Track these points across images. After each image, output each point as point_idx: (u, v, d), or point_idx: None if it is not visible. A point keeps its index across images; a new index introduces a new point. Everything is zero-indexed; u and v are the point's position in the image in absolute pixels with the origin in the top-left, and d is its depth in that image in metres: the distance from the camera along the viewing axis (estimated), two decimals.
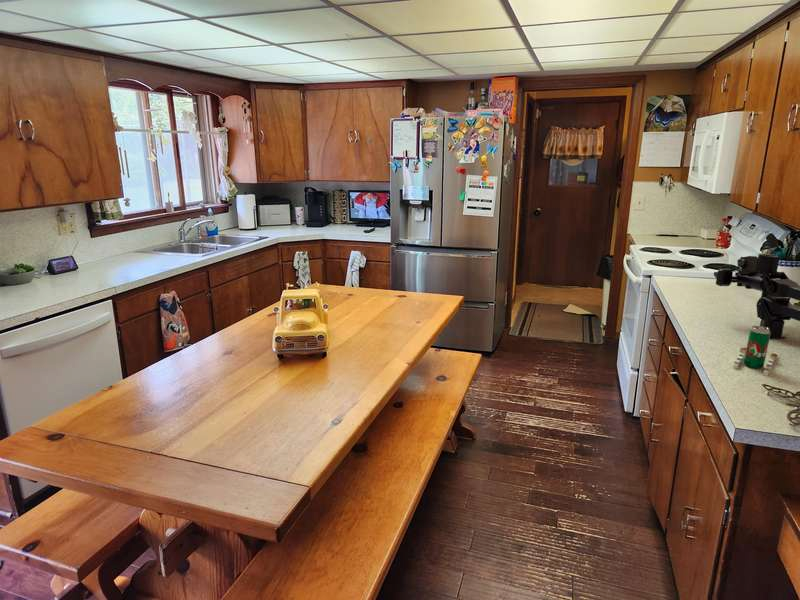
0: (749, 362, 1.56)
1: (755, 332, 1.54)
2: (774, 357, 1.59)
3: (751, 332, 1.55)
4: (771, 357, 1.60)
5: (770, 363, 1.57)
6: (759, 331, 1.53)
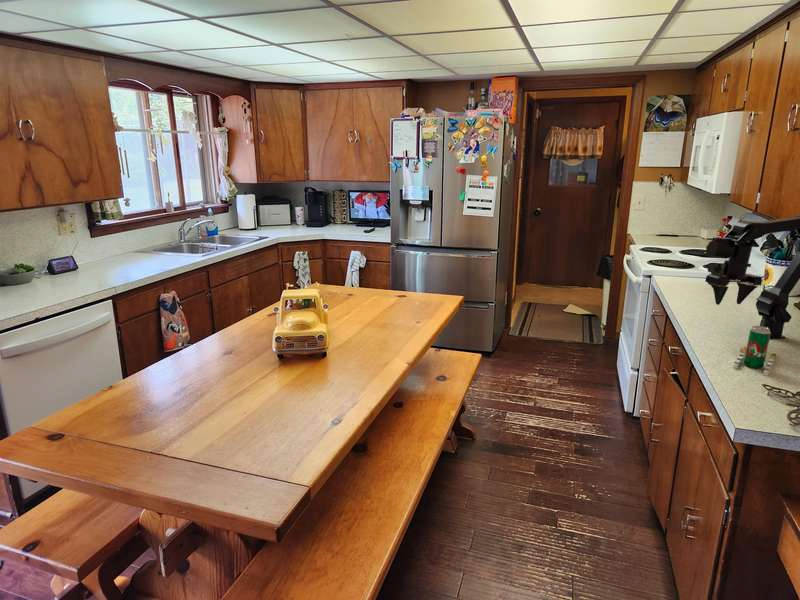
0: (749, 362, 1.56)
1: (755, 332, 1.54)
2: (774, 357, 1.59)
3: (751, 332, 1.55)
4: (771, 357, 1.60)
5: (770, 363, 1.57)
6: (759, 331, 1.53)
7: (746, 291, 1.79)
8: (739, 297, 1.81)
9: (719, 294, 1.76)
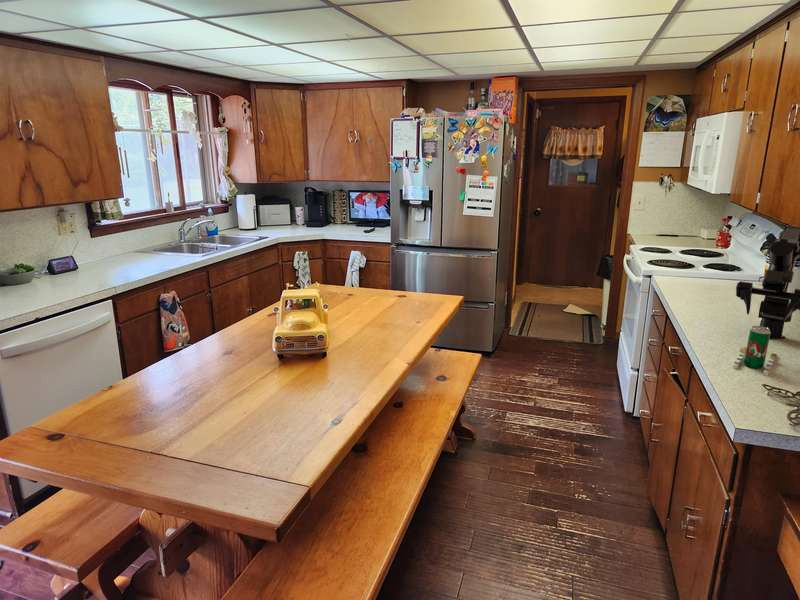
0: (749, 362, 1.56)
1: (755, 332, 1.54)
2: (774, 357, 1.59)
3: (751, 332, 1.55)
4: (771, 357, 1.60)
5: (770, 363, 1.57)
6: (759, 331, 1.53)
7: (750, 303, 1.66)
8: (749, 307, 1.63)
9: (791, 311, 1.58)
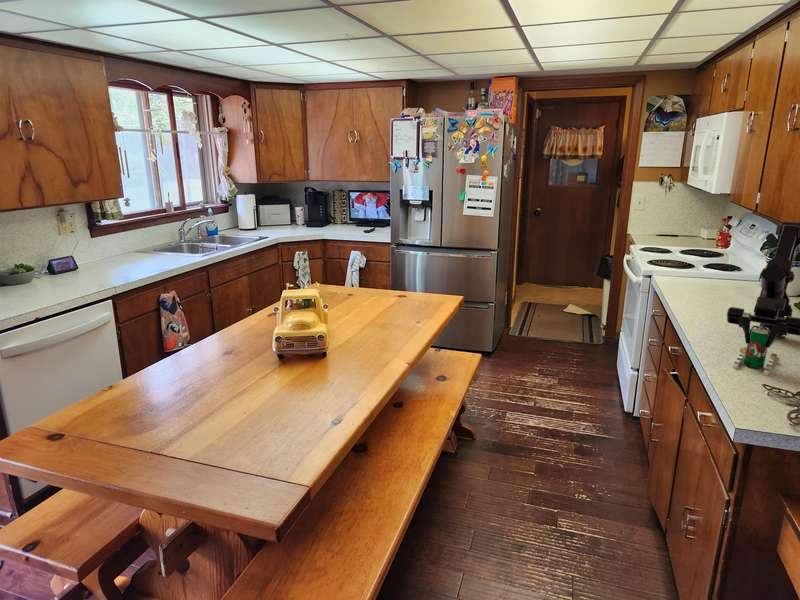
0: (749, 362, 1.56)
1: (755, 332, 1.54)
2: (774, 357, 1.59)
3: (751, 332, 1.55)
4: (771, 357, 1.60)
5: (770, 363, 1.57)
6: (759, 331, 1.53)
7: (749, 331, 1.59)
8: (748, 336, 1.57)
9: (776, 338, 1.54)
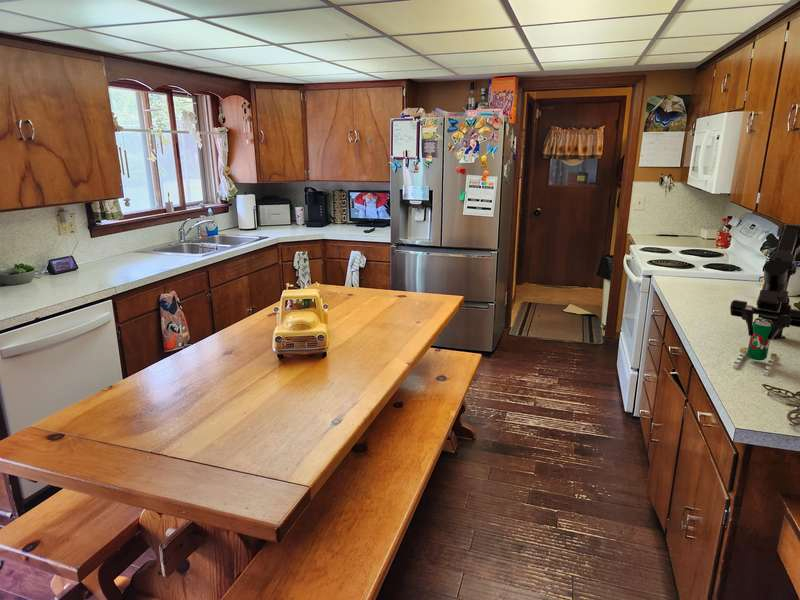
0: (752, 354, 1.59)
1: (758, 324, 1.56)
2: (774, 357, 1.59)
3: (754, 324, 1.57)
4: (771, 357, 1.60)
5: (770, 363, 1.57)
6: (762, 323, 1.55)
7: (752, 323, 1.62)
8: (751, 328, 1.60)
9: (778, 330, 1.57)
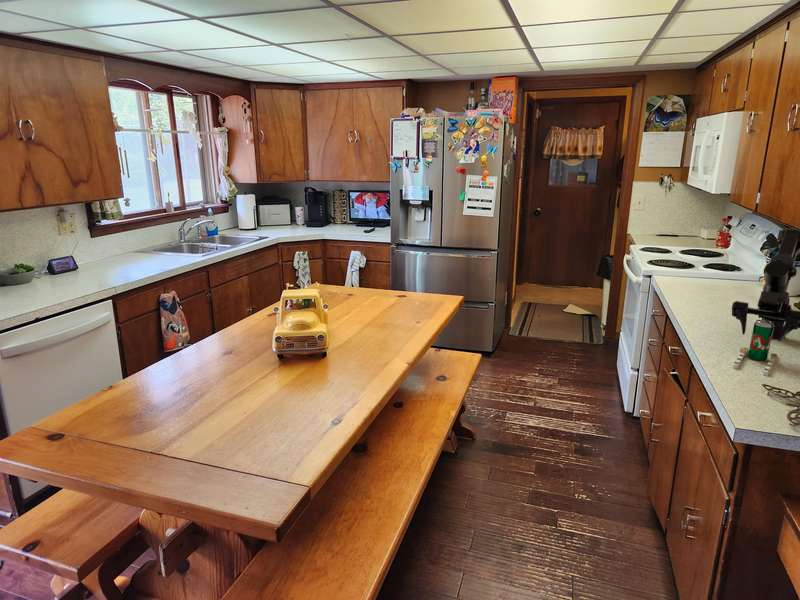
0: (753, 355, 1.62)
1: (759, 326, 1.59)
2: (774, 357, 1.59)
3: (755, 326, 1.61)
4: (771, 357, 1.60)
5: (770, 363, 1.57)
6: (763, 324, 1.59)
7: None
8: (745, 327, 1.64)
9: (787, 332, 1.58)
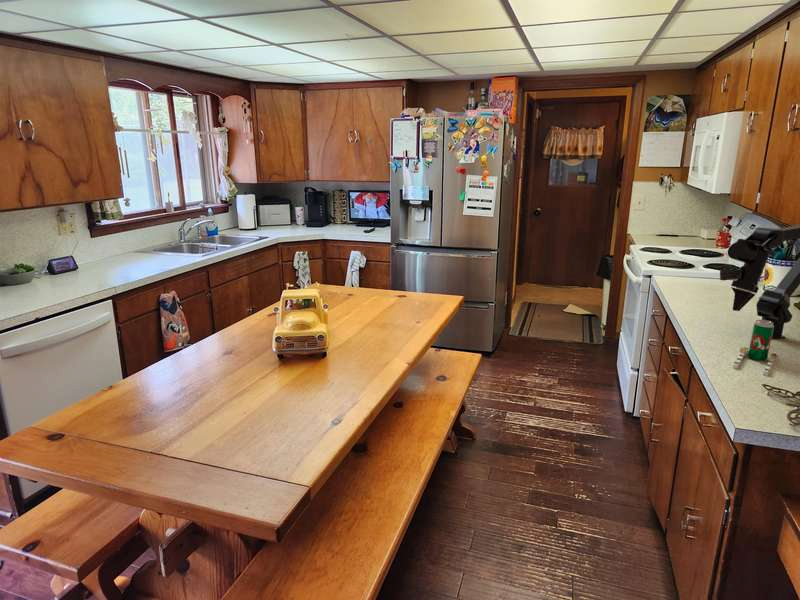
0: (753, 355, 1.62)
1: (759, 326, 1.59)
2: (774, 357, 1.59)
3: (755, 326, 1.61)
4: (771, 357, 1.60)
5: (770, 363, 1.57)
6: (763, 324, 1.59)
7: (748, 298, 1.78)
8: None
9: (741, 300, 1.70)
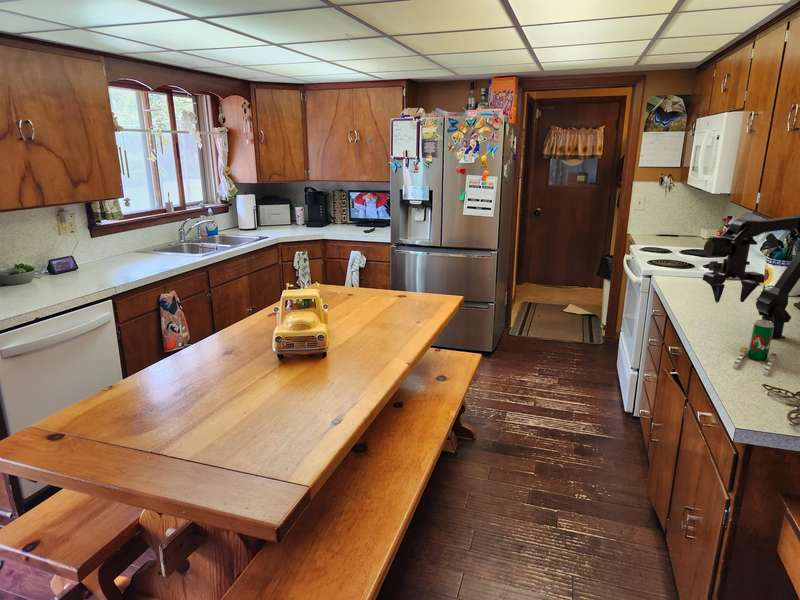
0: (753, 355, 1.62)
1: (759, 326, 1.59)
2: (774, 357, 1.59)
3: (755, 326, 1.61)
4: (771, 357, 1.60)
5: (770, 363, 1.57)
6: (763, 324, 1.59)
7: (748, 289, 1.79)
8: (742, 295, 1.81)
9: (717, 292, 1.78)
